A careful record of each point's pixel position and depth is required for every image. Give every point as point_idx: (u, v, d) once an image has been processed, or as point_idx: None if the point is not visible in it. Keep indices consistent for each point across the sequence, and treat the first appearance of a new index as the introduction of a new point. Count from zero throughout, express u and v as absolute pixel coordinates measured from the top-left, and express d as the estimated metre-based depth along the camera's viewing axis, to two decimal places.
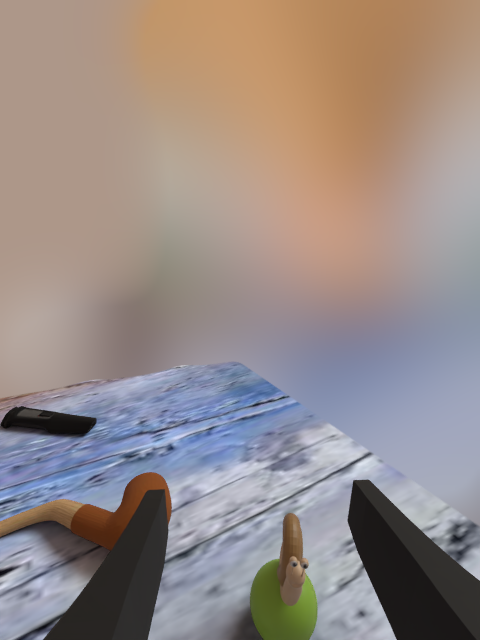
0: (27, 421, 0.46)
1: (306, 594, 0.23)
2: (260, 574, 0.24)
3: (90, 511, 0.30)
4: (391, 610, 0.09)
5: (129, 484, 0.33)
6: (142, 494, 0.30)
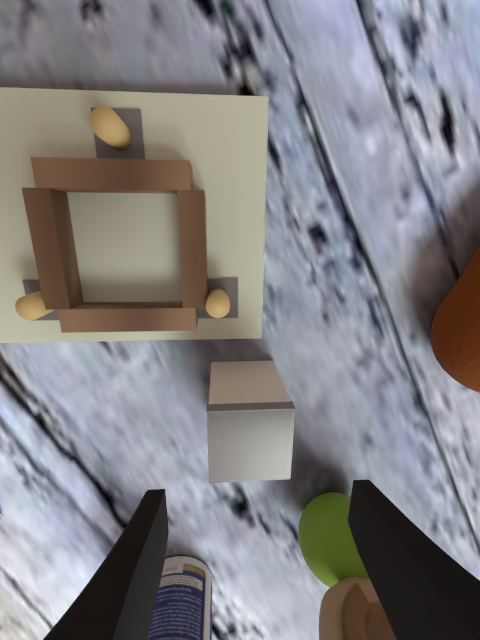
0: None
1: None
2: None
3: None
4: (391, 610, 0.09)
5: None
6: None
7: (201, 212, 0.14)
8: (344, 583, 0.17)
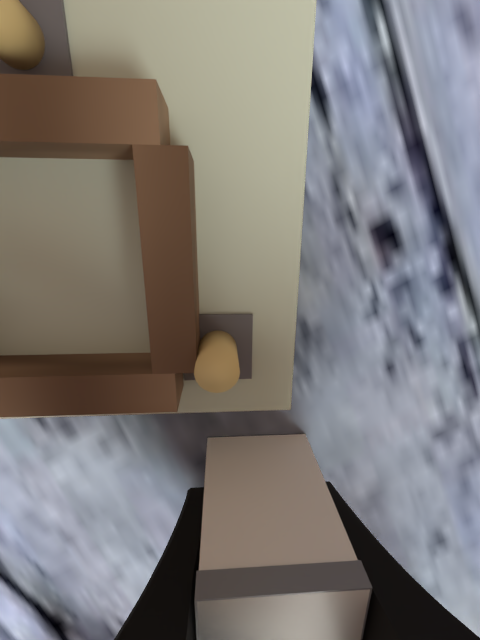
0: None
1: None
2: None
3: None
4: None
5: None
6: None
7: (184, 191, 0.07)
8: None
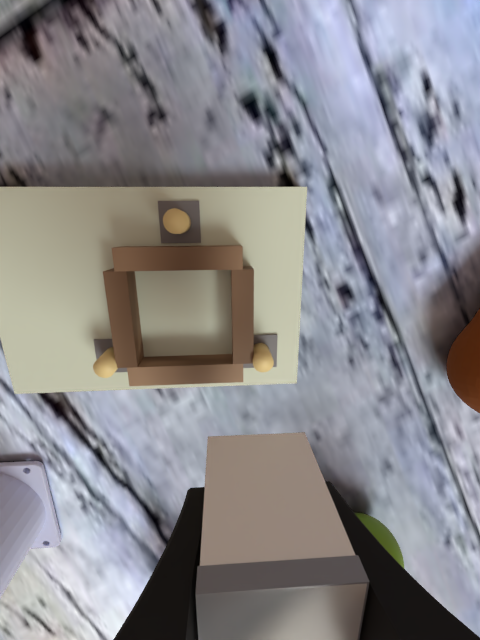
0: None
1: None
2: None
3: None
4: None
5: None
6: None
7: (251, 286, 0.16)
8: None
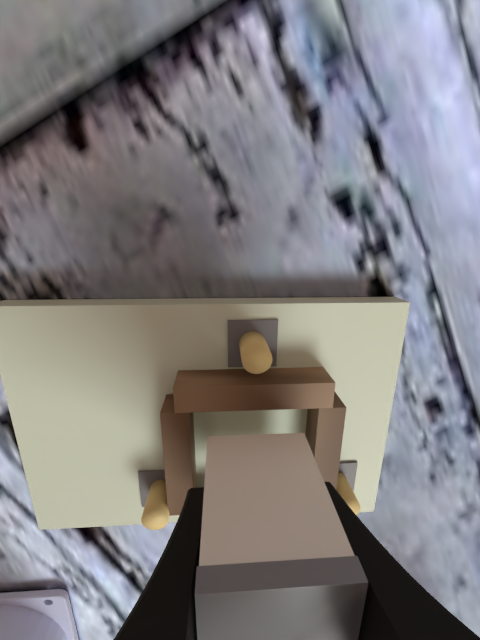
0: None
1: None
2: None
3: None
4: None
5: None
6: None
7: (341, 426, 0.13)
8: None
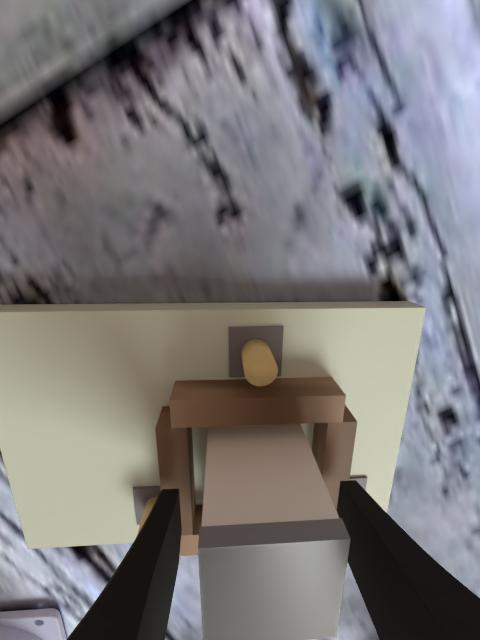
0: None
1: None
2: None
3: None
4: (375, 611, 0.09)
5: None
6: None
7: (351, 441, 0.12)
8: None
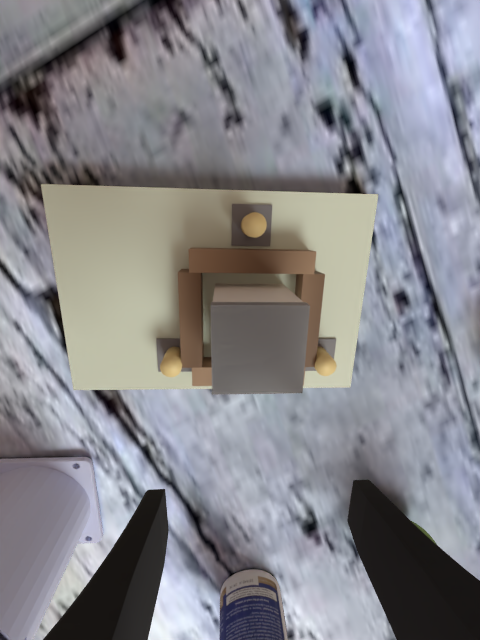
0: None
1: None
2: None
3: None
4: (391, 610, 0.09)
5: None
6: None
7: (321, 291, 0.16)
8: None
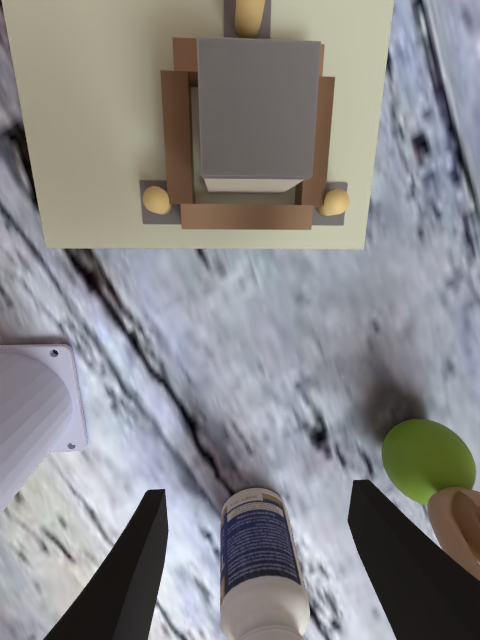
0: None
1: None
2: (463, 454, 0.18)
3: None
4: (391, 610, 0.09)
5: None
6: None
7: (330, 100, 0.14)
8: (446, 490, 0.17)
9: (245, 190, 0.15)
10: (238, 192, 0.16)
